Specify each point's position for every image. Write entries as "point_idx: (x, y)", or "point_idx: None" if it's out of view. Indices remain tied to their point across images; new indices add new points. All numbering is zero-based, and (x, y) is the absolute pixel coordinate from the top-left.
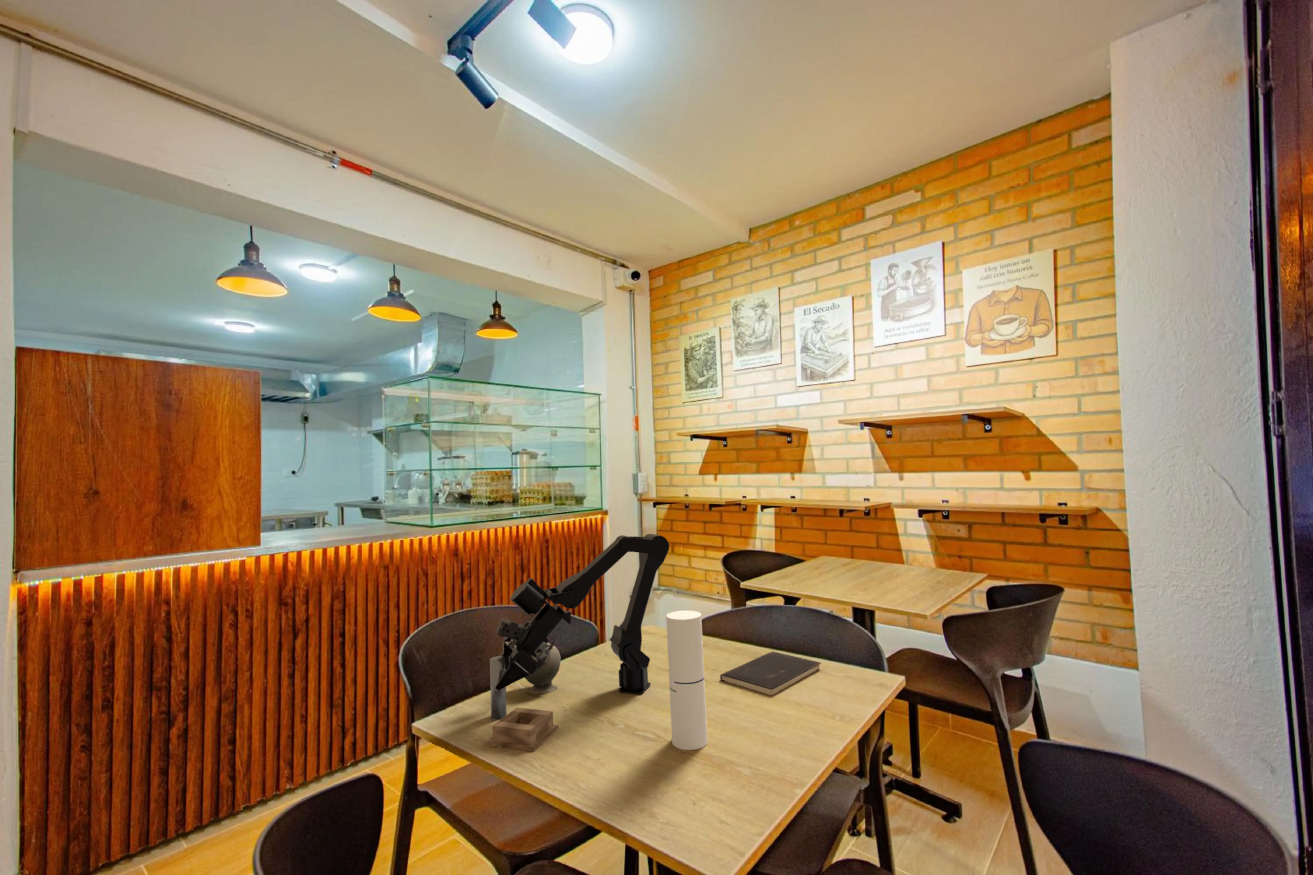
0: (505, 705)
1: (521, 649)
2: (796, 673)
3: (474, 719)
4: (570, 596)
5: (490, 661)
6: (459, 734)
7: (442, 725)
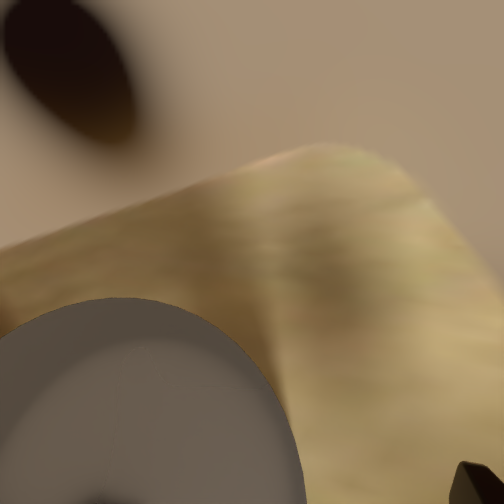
0: None
1: None
2: None
3: (292, 327)
4: None
5: (101, 309)
6: (172, 240)
7: (313, 196)
